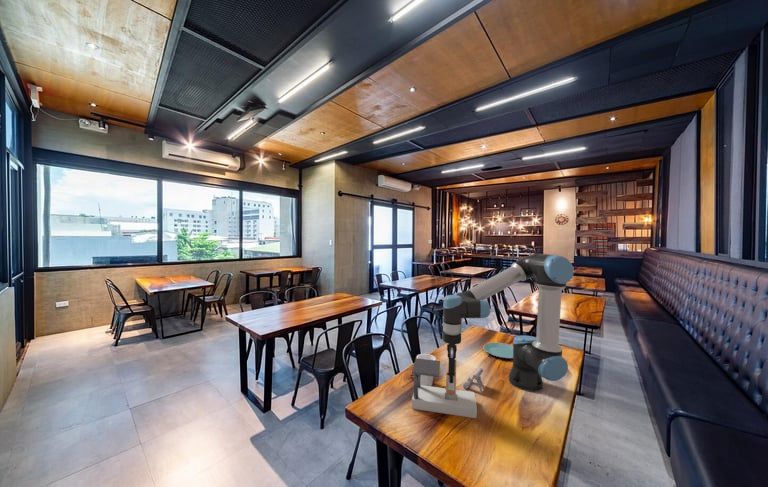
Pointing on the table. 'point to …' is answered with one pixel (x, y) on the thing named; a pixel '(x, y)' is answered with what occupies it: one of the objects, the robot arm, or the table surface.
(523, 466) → the table surface
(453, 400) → the board
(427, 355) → the foam cup
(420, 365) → the dark grey l-shaped piece
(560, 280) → the robot arm
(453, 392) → the peg
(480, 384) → the portable electronic device stand
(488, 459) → the table surface
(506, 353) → the plate
